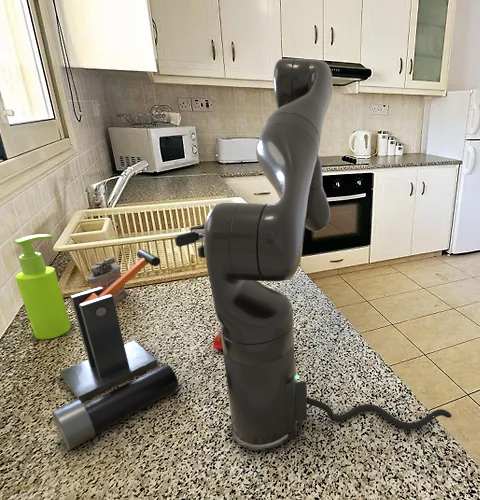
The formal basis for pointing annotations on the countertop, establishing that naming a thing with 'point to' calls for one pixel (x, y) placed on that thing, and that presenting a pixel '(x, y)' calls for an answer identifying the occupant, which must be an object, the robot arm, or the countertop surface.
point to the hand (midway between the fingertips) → (187, 247)
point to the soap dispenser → (41, 292)
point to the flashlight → (112, 406)
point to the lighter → (106, 277)
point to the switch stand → (103, 348)
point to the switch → (128, 274)
